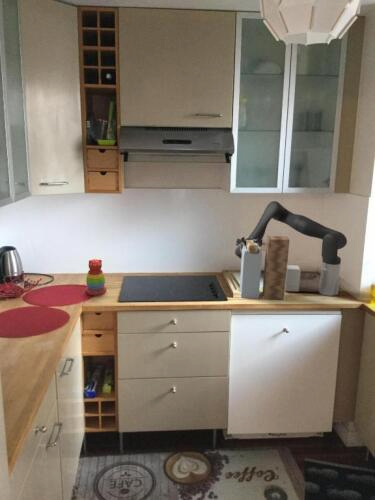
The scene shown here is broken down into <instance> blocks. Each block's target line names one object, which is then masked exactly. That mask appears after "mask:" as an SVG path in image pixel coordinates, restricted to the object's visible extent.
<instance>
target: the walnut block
mask: <svg viewBox="0 0 375 500" xmlns="http://www.w3.org/2000/svg"><path fill="white" fill-rule="evenodd" d="M265 242H266V244H265V255H264V256H265V257H264V267H263V268H264V269H263V281H262V292H261V293H262V294H263V295H262V294H261V295H262V298H263V300H265V301H285V292H286V291H285V282H286V272H287V265H288V259H289V250H290V238H288V236H284V235H283V236H282V235H279V236H278V235H266V241H265Z"/></svg>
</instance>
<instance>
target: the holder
mask: <svg viewBox="0 0 375 500" xmlns="http://www.w3.org/2000/svg"><path fill="white" fill-rule="evenodd" d="M262 260H263V253H262V250H261V248H260V247H259V245H258V247H257V254H248V252H247V249H246V247H245V246H243V249H242V259H241V261H240V262H241V264H240V275H239V276H240V277H239V293H240V292H241V294H240V297H241V298H243V299H244V298H245V299H259V298H260V287H261V286H260V285H261V275H262V274H261V273H262V263H263V262H262Z"/></svg>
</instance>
